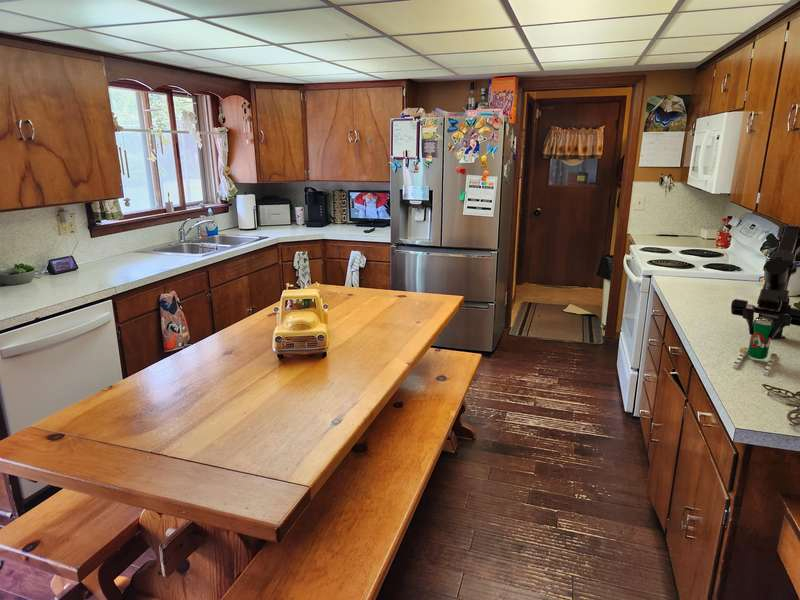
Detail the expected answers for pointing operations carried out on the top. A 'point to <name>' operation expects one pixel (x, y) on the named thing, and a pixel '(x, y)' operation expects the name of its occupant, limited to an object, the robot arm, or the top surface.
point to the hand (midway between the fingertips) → (760, 335)
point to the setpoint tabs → (773, 356)
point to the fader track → (744, 356)
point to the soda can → (760, 338)
